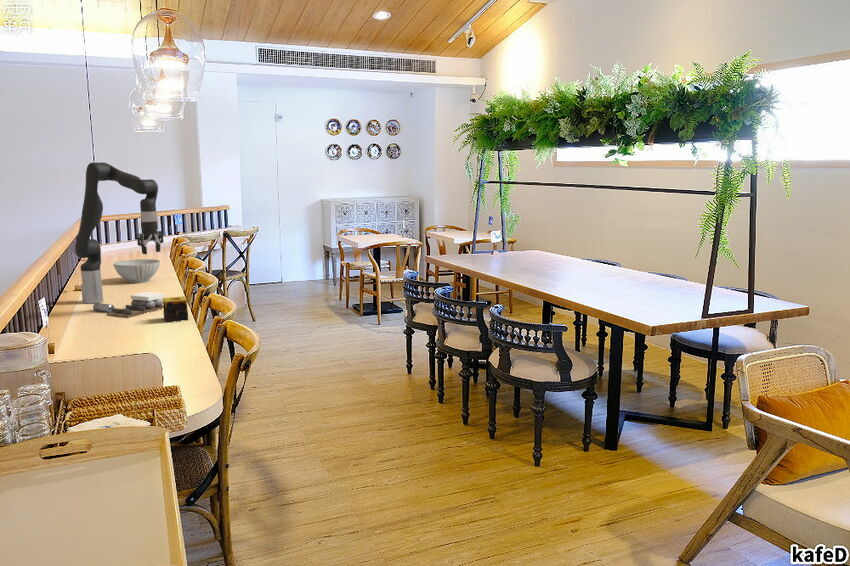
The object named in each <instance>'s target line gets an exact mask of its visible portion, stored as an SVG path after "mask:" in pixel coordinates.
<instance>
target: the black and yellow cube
mask: <svg viewBox="0 0 850 566" xmlns="http://www.w3.org/2000/svg"><path fill="white" fill-rule="evenodd" d="M162 301H163V305H162V306H164V309H163V319H165V320H164V322H165V321H166V322H165V323H174V322H173V321H176V322H182V321H181V320H186V321H188V320H189V309H188V299H187V298H186V296H172V297H164V298H162Z"/></svg>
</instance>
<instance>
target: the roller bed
mask: <svg viewBox="0 0 850 566" xmlns="http://www.w3.org/2000/svg"><path fill="white" fill-rule="evenodd" d="M162 308H164V306H163V299H162V298H160V299H156V300H151V301H143V300H133V299H131V302H130V304H126V305H125V308H115V307H114V308H112V312H106V316H110V317H116V318H124V319H125V318H126V319H129V318H133V317H138V316H141V315H145V314H148V313H147V312H149V313H152V312H151V311H153V312H156V311H155V310H157V311H159V310H158V309H160V310H163V309H162ZM144 313H145V314H144ZM140 314H141V315H140ZM137 315H138V316H137Z"/></svg>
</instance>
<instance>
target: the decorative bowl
mask: <svg viewBox="0 0 850 566" xmlns="http://www.w3.org/2000/svg"><path fill="white" fill-rule="evenodd" d="M160 265H161V261H160V260H159V259H153V258H152V259H151V258H149V259H148V258H144V259H143V258H142V259H137V258H136V259H127V260H119V261H115V262H113V264H112V266H113V268H114V270H115V272H116V273H117V274H118V275H119V276H120V277H121V278H122V279H124V280H126V282H127V283H130V284H131V283H132V284H139V283H145V282H146V283H147V282H149V281H150V279H151V278H152V277H154V275H155V274H156V273H157V272H158V270H159V267H160Z"/></svg>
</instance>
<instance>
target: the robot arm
mask: <svg viewBox="0 0 850 566" xmlns="http://www.w3.org/2000/svg"><path fill="white" fill-rule="evenodd" d="M106 181H112V182H117V183H118V184H119V185H120V186H121V187H123V188H126V189H130V190H132V191H134V192H135V193H136V194H140V195H145V197H144V198H142V199H141V200H140V201H139V202H140V204H139V205H140V226H141V228H140V229H141V231H142V233H139V232H138V233H137V237H136V238H137V239H136V240H137V246H139V247H141V253H142V254H143V255H147V254H148V252H147V251H148V249H147V246H148V244H149V243H150V242H151V241H152V242H154V244H155V252H156V253H161V249H162V248H161V245H162V244H163V243H164V241H165V240H164V234H163V231H162V230H158V229H159V225H158V213H157V205H156V204H157V203H156V201H157V198H158V192H159V185H158V183H157V182H156V181H155V180H154V179H152V178H150V179H141V178H140V177H139V176H137V175H135V174H132V173H128V172H125V171H122V170H120V169H118V168H116V167H115V166H112V165H111V164H110V163H107V162H90V163H88V165H87V166H86V171H85V188H84V189H85V190H84V198H83V202H82V203H83V204H82V210H81V219H80V224H79V229H78V234H77V236H76V241H75V245H74V251H75V255H76V256H77V257H78V258H80V259H86V260H85V262H83V263H82V264H81V265H80V277H81V285H80V286H81V287H80V288H81V289H80V290H81V298H82V299H81V301H82V302H83V303H84V304H95V303H102V302H104V296H103V295H104V294H103V284H102V283H103V282H102V274H101V265H102V250H101V245H100V243H99V241H98V240H97V239H95V238H94V239H93V238H91V235H92V233H93V231H94V230H95V228H97V226H98V225H99V224H100V222H101V220H102V216H103V213H104V212H103V209H104V205H103V202H102V199H101V198H100V195H99V193H98V186H99V182H106ZM90 238H91V239H90Z"/></svg>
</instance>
